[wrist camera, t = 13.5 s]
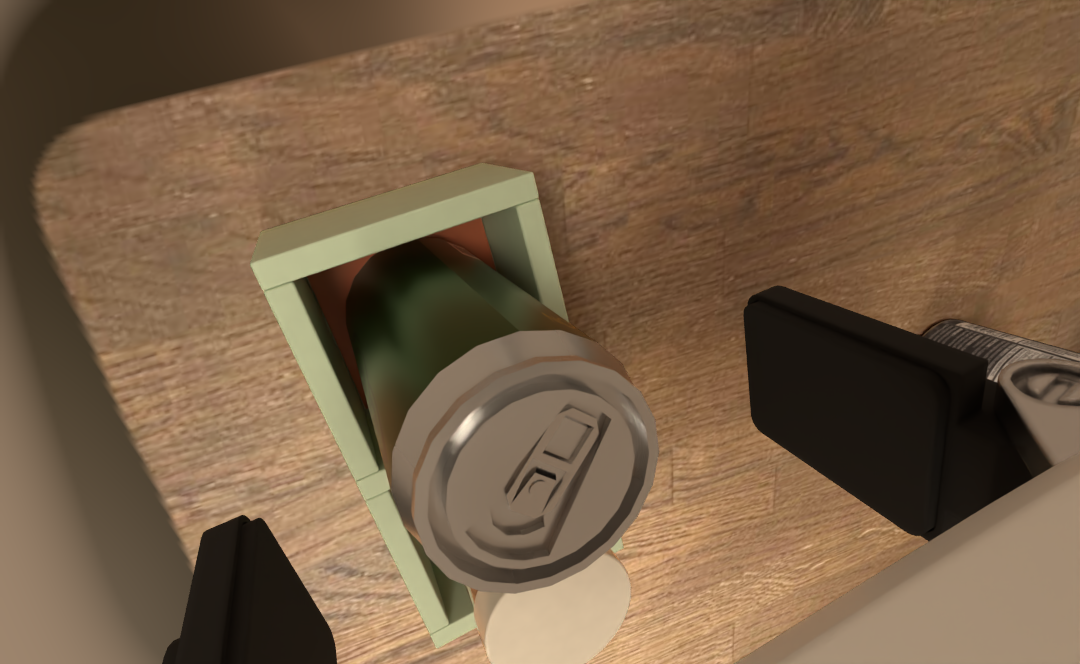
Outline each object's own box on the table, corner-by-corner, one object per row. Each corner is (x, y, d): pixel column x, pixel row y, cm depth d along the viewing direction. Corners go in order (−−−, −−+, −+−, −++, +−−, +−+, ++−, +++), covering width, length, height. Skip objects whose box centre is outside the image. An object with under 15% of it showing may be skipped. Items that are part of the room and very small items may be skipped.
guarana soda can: (389, 204, 19) (502, 294, 9) (514, 276, 22) (713, 411, 12) (315, 338, 20) (340, 572, 9) (445, 393, 22) (578, 624, 12)
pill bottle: (964, 379, 38) (1202, 469, 28) (899, 420, 36) (1125, 529, 26) (968, 301, 35) (1231, 369, 25) (898, 341, 34) (1148, 430, 24)
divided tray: (259, 231, 19) (248, 263, 14) (482, 161, 21) (533, 171, 16) (411, 558, 25) (437, 649, 21) (571, 480, 27) (624, 548, 23)
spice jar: (403, 435, 23) (464, 604, 15) (508, 390, 24) (617, 524, 16) (439, 519, 24) (509, 710, 16) (534, 474, 26) (643, 631, 18)
